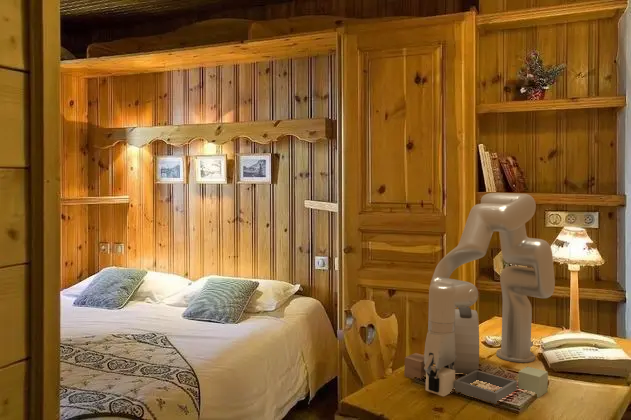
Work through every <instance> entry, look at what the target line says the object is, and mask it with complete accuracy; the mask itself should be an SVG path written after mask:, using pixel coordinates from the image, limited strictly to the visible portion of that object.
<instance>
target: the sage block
mask: <svg viewBox="0 0 631 420" xmlns="http://www.w3.org/2000/svg"><path fill="white" fill-rule="evenodd" d="M517 377H518V378H517V379H518V381H517V383H518V384H517V389H518V388H519V389H524V390H528V391H532V392H535V393H536V394H537V397H536V398H538V399H539V398H540V397H542V396H543V395H544V394H545V395H546V393H548V384H549V383H548V381H549V380H548V379H549V372H548V371H547V370H543V369H539V368H536V367H532V366H531V367H530V366H529V365H528V366H525V367H524V368H522V369H520V370H519V371H518V376H517Z"/></svg>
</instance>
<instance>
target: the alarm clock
mask: <svg viewBox="0 0 631 420" xmlns="http://www.w3.org/2000/svg"><path fill="white" fill-rule="evenodd" d="M479 324H480V323H479V314H478V312H477V310H476V309H471V307H470V306H469V307H457V308H456V309H455V346H456V353H455V355H456V359H455V362H454V365H453V370H455V373H464V374H469V373H471V372H473V371H475V370H479V366H480V365H479V364H480V325H479Z"/></svg>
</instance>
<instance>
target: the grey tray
mask: <svg viewBox="0 0 631 420" xmlns="http://www.w3.org/2000/svg"><path fill="white" fill-rule="evenodd" d="M476 380H479V381H483V382H487V383H490V384H493V385H496V386H499V387H502V388H500V389H499V390H497V391H495V392H494V391H491V390H488V389H484V388H481V387H478V386H475V385H471V384H470V383H473V382H474V381H476ZM517 383H518V381H517V380H514V379H510V378H506V377H503V376H500V375H496V374H492V373H489V372H486V371H482V370H479V369H478V370H475V371H473V372H471V373H469V374H467V375H462V376H460V377H459V378H457V379H455V391H457V392H461V393H464V394H466V395H469V396H473V397H477V398H480V399H484V400H487V401H491V403H494V404H496V403H497V401H499V400H500V399H502V398H504V397H506V396H507V395H509V394H511V393H512V392H514V391H516V390H517V391H518V384H517Z"/></svg>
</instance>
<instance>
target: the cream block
mask: <svg viewBox="0 0 631 420" xmlns="http://www.w3.org/2000/svg"><path fill="white" fill-rule="evenodd" d="M433 371H434V372H435V371H436V369H434V368H433ZM438 378H439V392H434V391H431V390H429V388H428V387H429V377H428V374H427V373H426V379H425V391H426V392H429V393H433V394H435V395H438V396H440V397H445V396H447V395H449V394H451V393H452V392H451V391H452V389H454V388H455V380H456V374H455V370H452V369H448V368H445V367H442V368H440V371H439V375H438ZM450 392H451V393H450Z"/></svg>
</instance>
